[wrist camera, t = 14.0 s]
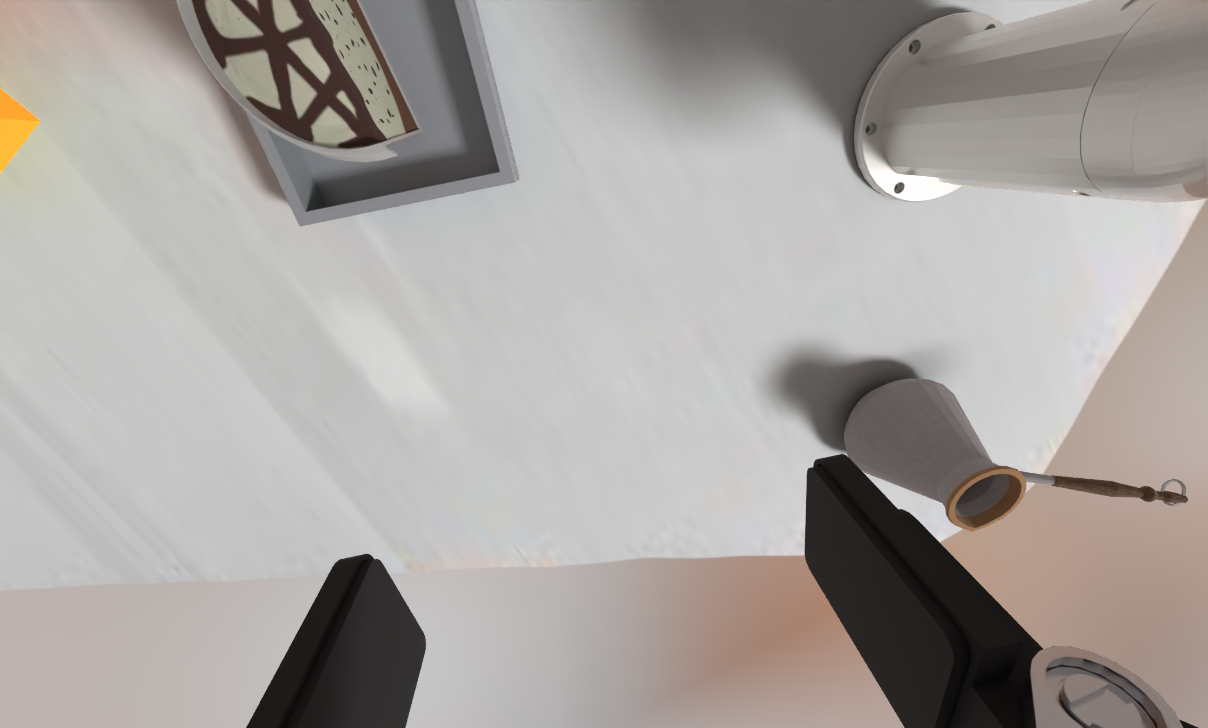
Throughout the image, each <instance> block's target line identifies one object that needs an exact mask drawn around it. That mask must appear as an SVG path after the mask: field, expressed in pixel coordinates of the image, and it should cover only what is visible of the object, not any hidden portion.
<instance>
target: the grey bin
mask: <svg viewBox="0 0 1208 728" xmlns="http://www.w3.org/2000/svg"><path fill="white" fill-rule="evenodd" d="M360 1H361V3H362V5H363V8H364V10H365V12H366V14H367V16H368V18H369V20H370V22H371V24H372V26H373V28H374V31H375V33H376V35H377V37H378V39H379V41H380V43H381V45H382V47H383V49H384V52H385V54H386V56H387V58H388V60H389V62H390V64H391V66H392V68H393V70H394V72H395V75H396V77H397V79H398V81H399V83H400V85H401V87H402V89H403V91H404V93H405V95H406V98H407V100H408V102H409V104H410V106H411V108H412V110H413V112H414V114H415V116H416V118H417V121H418V123H419V125H420V127H421V129H422V131H423V132H422V133H419V134H416V135H413V136H410V137H408V138H405V139H402V140H399V141H396V142H393V143H390V144H387V145H385V146H386V148H388V149H390V150H392V151H394V152H396V153H397V155H398V156H395V157H391V158H388V159H385V160H379V161H371V162H352V161H343V160H338V159H333V158H328V157H325V156H323V155H320V154H317V153H314V152H312V151H309V150H306V149H304V148H302V147H300V146H297V145H295V144H293V143H291V142H289V141H287V140H286V139H284V138H282V137H280V136H278V135H276V134H275V133H273V132H272V131H270V130H269V129H268V128H266V127H265V126H263V125H262V124H260V123H259V122H257V121H256V120H255V119H254V118H253V117H252V116H251V115H250V114H248V113H247V112H246V111H245V110H244V111H245V113H246V115H247V117H248V119H249V121H250V123H251V125H252V127H253V129H254V131H255V134H256V136H257V138H258V140H259V142H260V144H261V146H262V148H263V150H264V152H265V155H266V157H267V159H268V161H269V163H270V165H271V167H272V169H273V171H274V173H275V175H276V178H277V180H278V182H279V184H280V186H281V188H282V190H283V192H284V194H285V196H286V198H287V201H288V203H289V205H290V207H291V209H292V211H293V213H294V215H295V217H296V219H297V222H298V224H299V226H304V225H309V224H314V223H319V222H324V221H328V220H333V219H338V218H343V217H348V216H353V215H358V214H362V213H367V212H372V211H377V210H382V209H387V208H392V207H397V206H401V205H406V204H411V203H416V202H421V201H426V200H431V199H435V198H440V197H445V196H450V195H455V194H460V193H465V192H469V191H474V190H479V189H484V188H489V187H494V186H499V185H504V184H508V183H513V182H516V181H517V180H518V179H519V175H518V171H517V167H516V163H515V159H514V155H513V151H512V147H511V143H510V139H509V135H508V131H507V127H506V123H505V119H504V115H503V111H502V107H501V103H500V99H499V95H498V91H497V87H496V83H495V79H494V75H493V71H492V67H491V63H490V59H489V55H488V51H487V47H486V43H485V39H484V35H483V31H482V27H481V23H480V19H479V15H478V11H477V7H476V3H475V0H360Z"/></svg>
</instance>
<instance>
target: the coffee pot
mask: <svg viewBox="0 0 1208 728" xmlns="http://www.w3.org/2000/svg"><path fill="white" fill-rule="evenodd" d="M844 443H845V447H846V451H847V455H848V457H849V458H850V459H851V460H852V461H853V462H854V463H855V465H856V466H857V467H858V468H859V469H860V470H862V471H863V472H865V473H867V474H870V475H872V476H875V477H877V478H880V479H883V480H885V481H888V482H890V483H893V484H895V485H898V486H900V487H903V488H906V489H908V490H911V491H913V492H916V493H918V494H921V495H924V496H926V497H929V498H931V499H934V500H936V501H939V502H941V503H943V505H944V506H945V508H946V515H947V517H948V519H949V520H950V522H952V523H953V524H954V525H956V526H958V527H960V528H963V529H966V530H969V531H975V530H978V529H981V528H984V527H986V526H988V525H990V524H993V523H995V522H996V521H998V520H1000V519H1002V518H1003V517H1005V516H1006V515H1007V514H1009V513H1010V512H1011V511H1012V510H1013V509H1014V508H1015V507H1016V506H1017V505H1018V504H1019V503H1020V501H1021V499H1022V498H1023V496H1024V494H1025V491H1026V482H1032V483H1040V484H1049V485H1052V486H1056V487H1062V488H1067V489H1073V490H1078V491H1084V492H1089V493H1094V494H1100V495H1105V496H1111V497H1138V498H1141V499H1142V500H1144V501H1147V502H1151V501H1154V500H1156V499H1157V500H1162V501H1164V503H1165V504H1168V505H1170V506H1175V505H1178V504H1180V503H1186V502H1187V501H1188V499H1187V497H1186V496H1185V495H1186V487H1185V485H1184V484H1183V483H1182V482H1181V481H1179V480H1176V479H1172V480H1168V481H1167V482H1165V483H1164V484H1163V485H1162V488H1161V492H1159V491H1155V490H1154V489H1153V488H1151V487H1148V486H1143V487H1141V488H1137V487H1133V486H1128V485H1124V484H1120V483H1116V482H1113V481H1104V480H1094V479H1084V478H1073V477H1062V476H1047V475H1041V474H1035V473H1028V472H1022V471H1018V470H1017V469H1014V468H1011V467H1008V466H999V465H996V464H994V463H992V461H991V459H990V457H989V456H988V454H987V452H986V450H985V449H984V447H983V445H982V443H981V441H980V440H979V438H978V436H977V434H976V433H975V431H974V429H973V427H972V426H971V424H970V422H969V420H968V419H967V417H966V415H965V413H964V411H963V410H962V408H961V406H960V404H959V403H958V401H957V399H956V397H955V396H954V394H953V393H952V392H951V391H950V390H949V389H947V388H946V387H945V386H944V385H942V384H939V383H937V382H934V381H931V380H926V379H910V378H907V379H902V380H897V381H893V382H890V383H888V384H885V385H883V386H880V387H878V388H875V389H873V390H872V391H870V392H869V393H867V394H866V395H864V396H863V397H862V398H861V399H860V400H859V401H858V402H857V404H856V405H855V406H854V408H853V409H852V411H851V414H850V416H849V419H848V421H847V424H846V426H845V431H844ZM1172 481H1177V482H1179V483H1180V485H1181V486H1182V494H1181V495H1180V494H1177V493H1173V492H1168V491H1165V488H1166V486H1167V485H1168V484H1169V483H1170V482H1172ZM1167 502H1169V503H1167ZM1170 503H1174V504H1170Z"/></svg>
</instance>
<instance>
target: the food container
mask: <svg viewBox="0 0 1208 728" xmlns="http://www.w3.org/2000/svg"><path fill="white" fill-rule="evenodd" d="M176 2H177V5H178V9H179V12H180V15H181V18H182V20H183V22H184V25H185V27H186V29H187V32H188V34H189V36H190V39H191V41H192V42H193V44H194V46H195V48H196V49H197V51H198V53H199V55H200V57H201V58H202V60H203V62H204V63H205V65H206V66H207V67H208V69H209V70H210V71H211V73H212V74H213V76H214V77H215V78H216V80H217V81H218V82H219V84H220V85H221V86H222V87H223V88H224V89H225V90H226V91H227V92H228V93H229V95H230V96H231V97H232V98H233V99H234V100H235V101H236V102H237V103H238V105H239V106H241V107H242V108H243V109H244V110H245V111H246V112H247V113H248V114H250V115H251V116H252V117H253V118H254V119H255V120H256V121H257V122H259V123H260V124H262V125H263V126H265V127H266V128H268V129H269V130H270V131H272V132H273V133H275V134H276V135H278V136H280V137H282V138H284V139H286V140H287V141H289V142H291V143H293V144H295V145H297V146H300V147H302V148H304V149H306V150H309V151H312V152H314V153H317V154H320V155H323V156H325V157H328V158H333V159H338V160H343V161H352V162H371V161H379V160H385V159H388V158H391V157H395V156H398V155H397V153H396V152H394V151H392V150H390V149H388V148H386V146H385V145H387V144H390V143H393V142H396V141H399V140H402V139H405V138H408V137H410V136H413V135H416V134H419V133H422V132H423V131H422V129H421V127H420V125H419V123H418V121H417V118H416V116H415V114H414V112H413V110H412V108H411V106H410V104H409V102H408V100H407V98H406V95H405V93H404V91H403V89H402V87H401V85H400V83H399V81H398V79H397V77H396V75H395V72H394V70H393V68H392V66H391V64H390V62H389V60H388V58H387V56H386V54H385V52H384V49H383V47H382V45H381V43H380V41H379V39H378V37H377V35H376V33H375V31H374V28H373V26H372V24H371V22H370V20H369V18H368V16H367V14H366V12H365V10H364V8H363V5H362V3H361V1H360V0H176Z"/></svg>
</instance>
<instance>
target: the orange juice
mask: <svg viewBox="0 0 1208 728" xmlns="http://www.w3.org/2000/svg"><path fill="white" fill-rule="evenodd" d="M39 122H40V120H38V119H37V118H36V117H35V116H33V115H32V114H31V113H30V112H28V111H27V110H26V109H25V108H23V107H22V106H21V105H20V104H18V103H17V102H16V101H15V100H14V99H12V98H11V97H10V96H9V95H7V94H6V93H5V92H4V91H2V90H1V89H0V173H1V172H2V170H3V169H4V168H5V167H6V165H7V164H8V163H9V161H10V160H11V159H12V157H13V156H14V155H15V153H16V152H17V151H18V149H19V148H20V147H21V146H22V144H23V143H24V142H25V140H26V139H27V138H28V136H29V135H30V134H31V132H32V131H33V130H34V129H35V127H36V126H37V125H38V123H39Z"/></svg>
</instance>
